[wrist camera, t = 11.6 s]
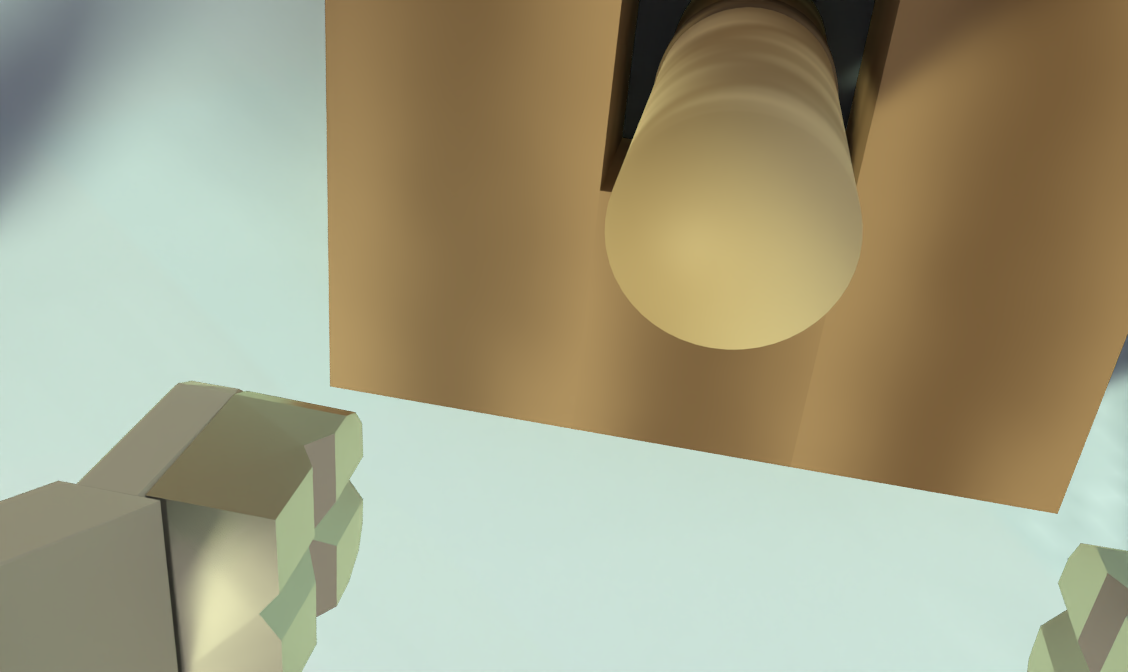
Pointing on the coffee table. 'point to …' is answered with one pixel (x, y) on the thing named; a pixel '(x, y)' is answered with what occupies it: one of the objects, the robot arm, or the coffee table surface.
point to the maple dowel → (738, 180)
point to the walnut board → (787, 368)
